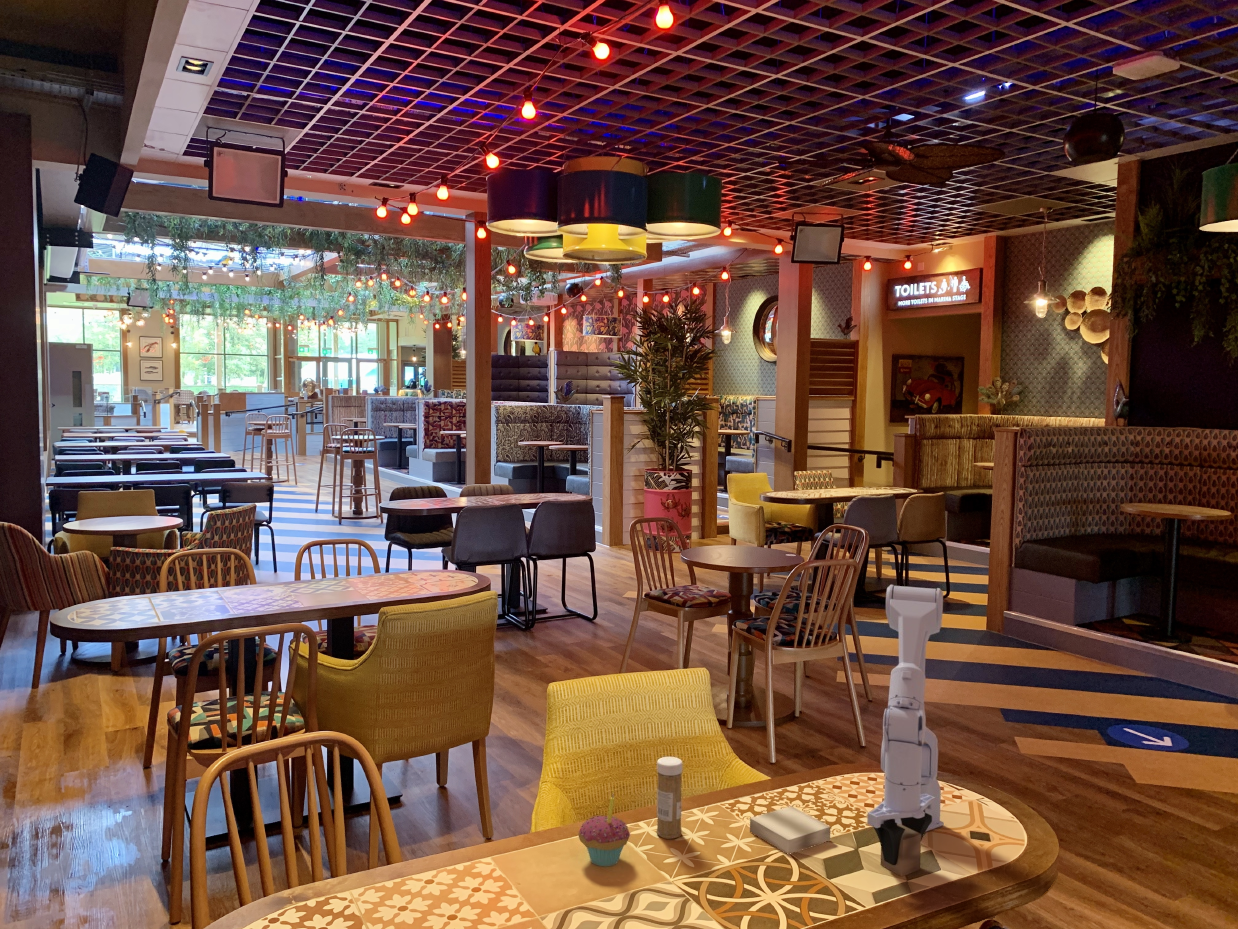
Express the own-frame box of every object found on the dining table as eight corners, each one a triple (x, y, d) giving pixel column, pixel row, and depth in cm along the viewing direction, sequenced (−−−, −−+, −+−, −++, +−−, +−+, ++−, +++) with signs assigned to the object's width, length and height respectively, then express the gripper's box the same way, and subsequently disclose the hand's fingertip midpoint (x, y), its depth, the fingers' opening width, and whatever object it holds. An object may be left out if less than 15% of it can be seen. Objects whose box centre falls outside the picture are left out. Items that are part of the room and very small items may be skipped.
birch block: (790, 821, 169) (790, 806, 169) (830, 843, 161) (830, 826, 161) (749, 834, 164) (750, 818, 164) (788, 857, 155) (788, 840, 155)
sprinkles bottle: (686, 836, 162) (687, 762, 161) (666, 842, 159) (667, 767, 159) (671, 826, 166) (672, 754, 165) (650, 832, 163) (652, 758, 162)
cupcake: (639, 860, 153) (640, 790, 152) (604, 878, 147) (605, 805, 146) (602, 843, 159) (603, 776, 158) (567, 860, 152) (568, 790, 152)
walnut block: (898, 858, 155) (899, 823, 154) (920, 869, 151) (921, 834, 151) (880, 864, 152) (881, 830, 152) (902, 876, 148) (903, 840, 148)
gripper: (892, 797, 143) (890, 880, 144) (951, 778, 151) (948, 857, 152) (858, 781, 149) (856, 862, 150) (916, 764, 157) (914, 840, 158)
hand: (900, 858), depth 151 cm, fingers closed on walnut block, 4 cm apart
